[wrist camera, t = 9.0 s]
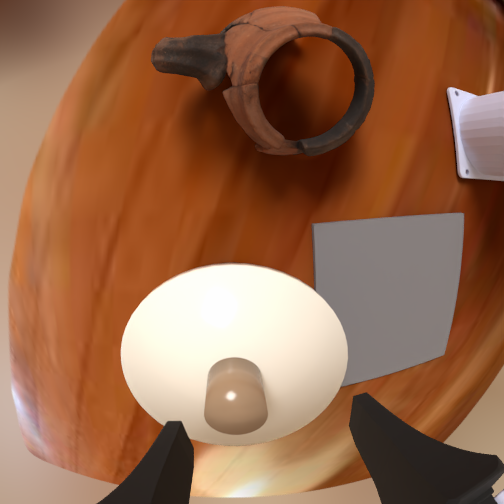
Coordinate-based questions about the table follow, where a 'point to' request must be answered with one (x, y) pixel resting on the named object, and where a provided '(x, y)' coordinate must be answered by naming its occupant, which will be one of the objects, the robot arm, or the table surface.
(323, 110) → the table surface
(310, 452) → the table surface
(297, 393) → the lid
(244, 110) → the dark brown rounded loops
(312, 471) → the table surface
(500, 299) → the table surface
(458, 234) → the mat
